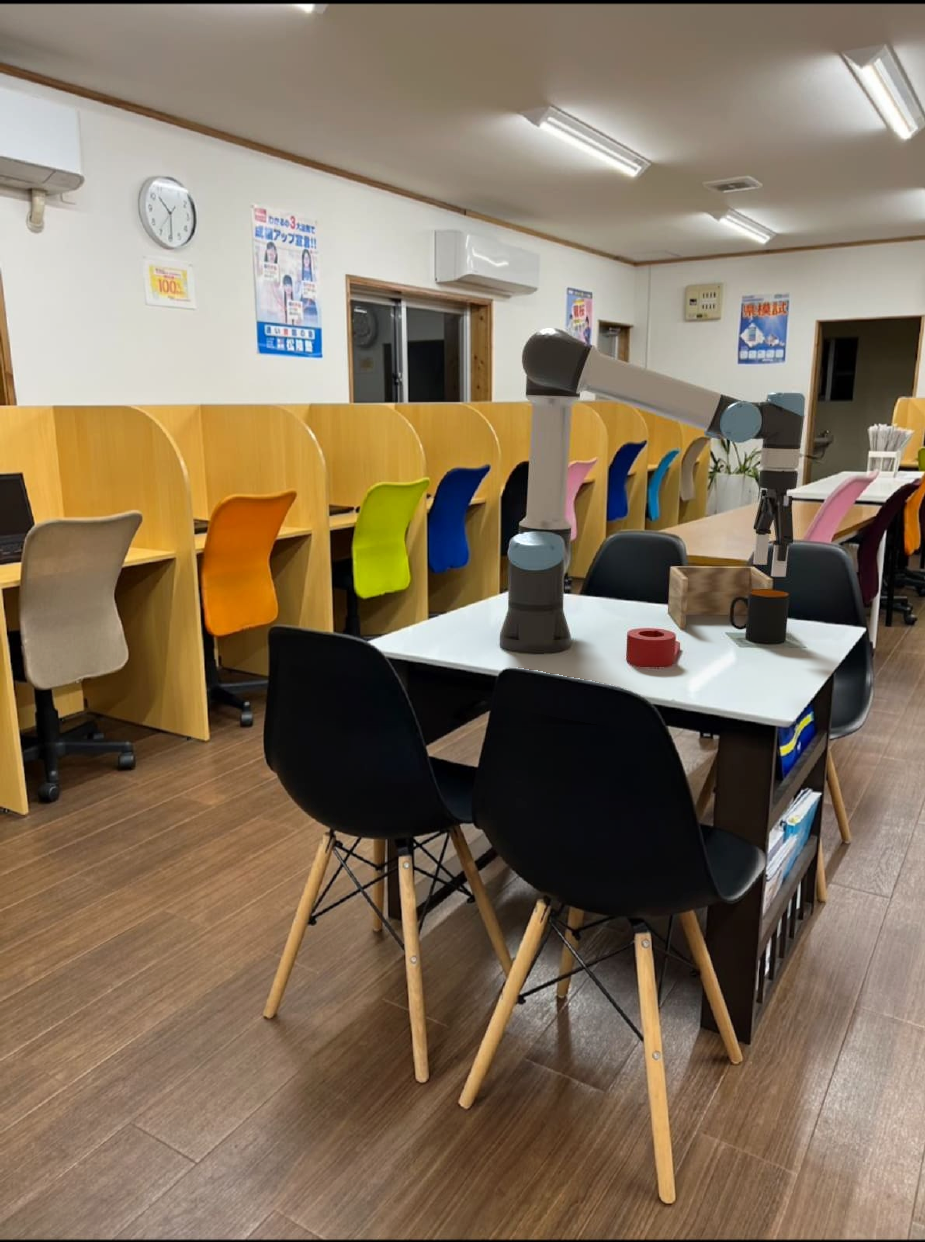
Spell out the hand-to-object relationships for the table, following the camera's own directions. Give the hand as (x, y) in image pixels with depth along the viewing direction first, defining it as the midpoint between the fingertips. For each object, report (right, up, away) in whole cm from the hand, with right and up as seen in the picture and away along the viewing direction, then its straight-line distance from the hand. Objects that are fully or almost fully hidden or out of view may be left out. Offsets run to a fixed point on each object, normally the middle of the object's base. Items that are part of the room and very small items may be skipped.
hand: (768, 570), depth 189 cm
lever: (-26, -19, -9) cm, 33 cm away
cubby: (-5, -11, +21) cm, 24 cm away
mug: (-1, -15, +4) cm, 16 cm away
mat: (0, -15, +4) cm, 16 cm away
